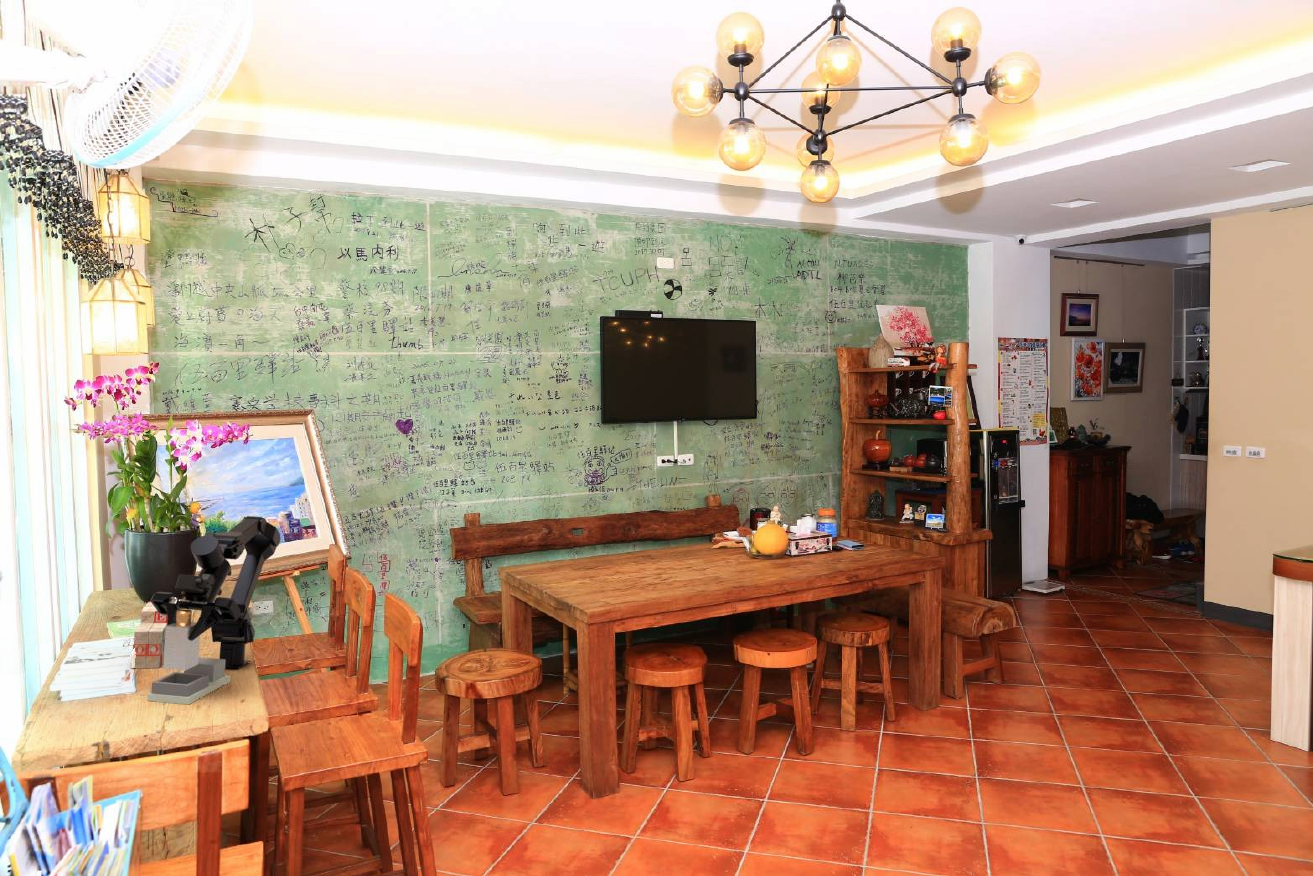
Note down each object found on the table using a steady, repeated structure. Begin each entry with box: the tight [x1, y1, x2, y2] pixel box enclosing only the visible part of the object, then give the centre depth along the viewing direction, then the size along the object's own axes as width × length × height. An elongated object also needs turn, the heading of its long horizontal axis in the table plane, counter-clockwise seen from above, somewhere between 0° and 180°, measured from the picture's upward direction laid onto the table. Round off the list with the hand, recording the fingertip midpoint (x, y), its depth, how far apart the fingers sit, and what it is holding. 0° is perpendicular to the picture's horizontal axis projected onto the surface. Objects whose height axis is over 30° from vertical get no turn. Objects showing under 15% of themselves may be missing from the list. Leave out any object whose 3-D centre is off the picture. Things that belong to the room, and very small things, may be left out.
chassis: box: [147, 656, 231, 705], centre depth 203 cm, size 17×9×6 cm, turn 177°
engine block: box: [162, 609, 201, 672], centre depth 198 cm, size 5×5×12 cm
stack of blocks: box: [132, 601, 168, 670], centre depth 226 cm, size 21×6×12 cm, turn 22°
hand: (178, 638), depth 197 cm, fingers closed on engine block, 5 cm apart
